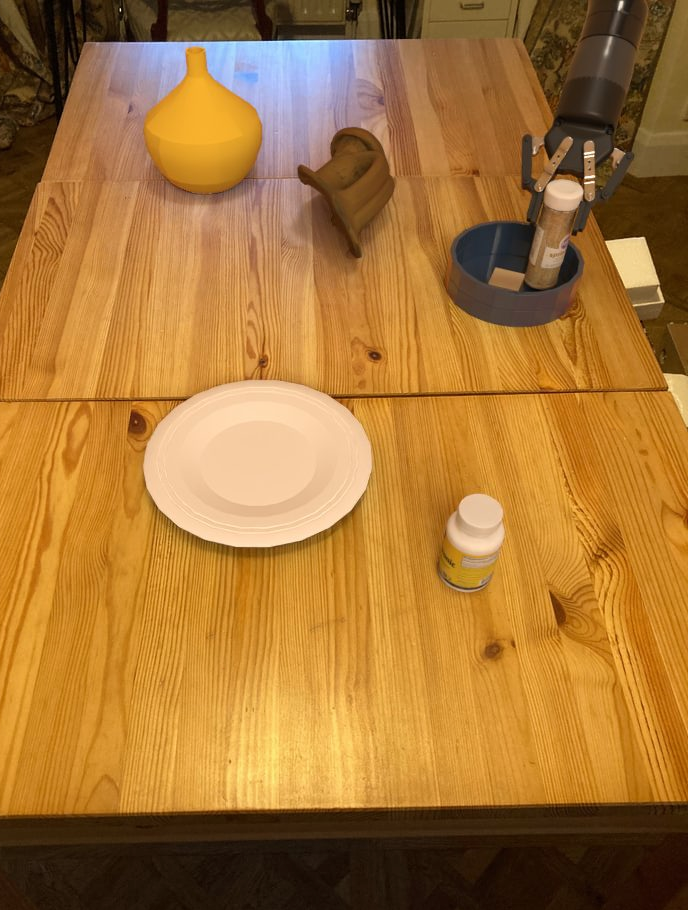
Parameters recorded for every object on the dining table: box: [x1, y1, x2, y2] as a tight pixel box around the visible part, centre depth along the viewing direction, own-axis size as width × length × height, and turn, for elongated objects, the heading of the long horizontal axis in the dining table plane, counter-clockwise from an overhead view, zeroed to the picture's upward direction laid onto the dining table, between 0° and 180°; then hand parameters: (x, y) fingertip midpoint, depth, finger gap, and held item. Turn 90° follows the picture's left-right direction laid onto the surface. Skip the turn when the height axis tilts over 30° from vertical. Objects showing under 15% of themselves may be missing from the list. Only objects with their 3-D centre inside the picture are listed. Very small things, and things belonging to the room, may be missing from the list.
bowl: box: [444, 219, 585, 328], centre depth 104 cm, size 17×17×6 cm
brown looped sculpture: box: [296, 126, 396, 259], centre depth 112 cm, size 18×13×22 cm
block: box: [488, 268, 525, 292], centre depth 101 cm, size 4×4×4 cm
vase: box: [142, 46, 263, 195], centre depth 117 cm, size 18×18×19 cm
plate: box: [142, 379, 373, 549], centre depth 84 cm, size 25×25×2 cm
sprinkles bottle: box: [524, 178, 583, 290], centre depth 99 cm, size 5×5×13 cm
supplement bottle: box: [437, 493, 506, 593], centre depth 73 cm, size 5×5×10 cm
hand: (553, 229), depth 96 cm, fingers closed on sprinkles bottle, 4 cm apart
